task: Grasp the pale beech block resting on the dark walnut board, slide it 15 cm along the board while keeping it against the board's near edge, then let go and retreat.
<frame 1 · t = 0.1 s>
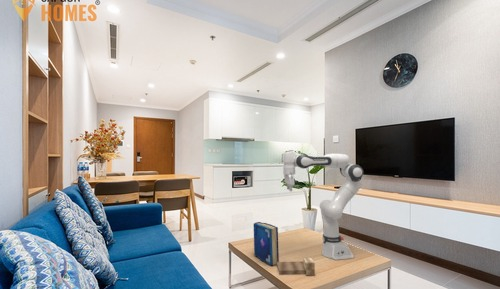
hand: (289, 190, 175), 48 cm above the table, fingers open, 8 cm apart
book: (265, 260, 165), on the table
block: (309, 268, 147), point 2 cm above the table, touching board
board: (295, 269, 151), on the table
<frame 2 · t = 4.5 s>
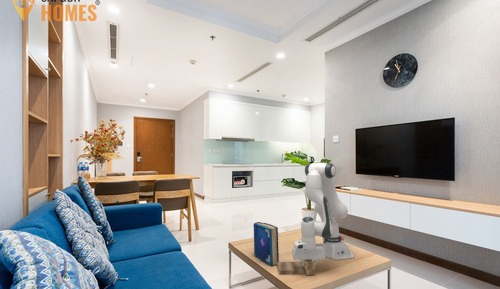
hand: (308, 266, 147), 4 cm above the table, fingers closed on block, 5 cm apart
block: (309, 268, 147), point 2 cm above the table, touching board, gripper
everything else where it was.
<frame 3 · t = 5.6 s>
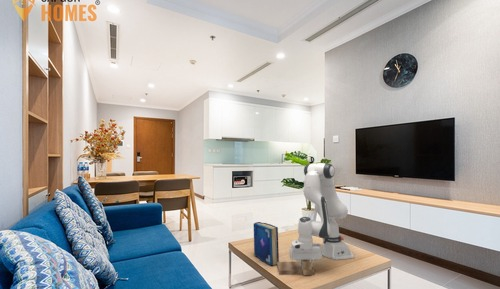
hand: (305, 266, 147), 4 cm above the table, fingers closed on block, 5 cm apart
block: (306, 268, 146), point 3 cm above the table, touching gripper
everything else where it was.
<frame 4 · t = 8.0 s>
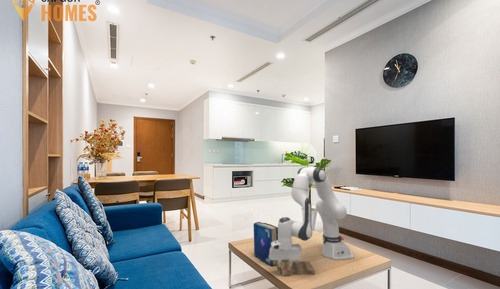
hand: (285, 266, 147), 4 cm above the table, fingers closed on block, 5 cm apart
block: (285, 269, 146), point 3 cm above the table, touching gripper
everything else where it was.
when the fingers open (4 cm above the table, at t = 8.9 s): block stays where it is, resting on board.
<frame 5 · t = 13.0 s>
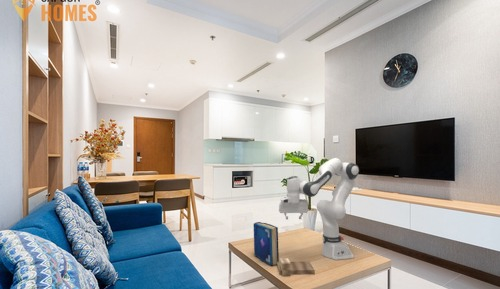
hand: (293, 219, 164), 29 cm above the table, fingers open, 8 cm apart
block: (285, 269, 146), point 2 cm above the table, touching board
everything else where it was.
at the end: block 0.8 cm from the target spot on the board, point 2.5 cm above the board's base; block tilted 0°; the gripper is holding nothing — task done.
